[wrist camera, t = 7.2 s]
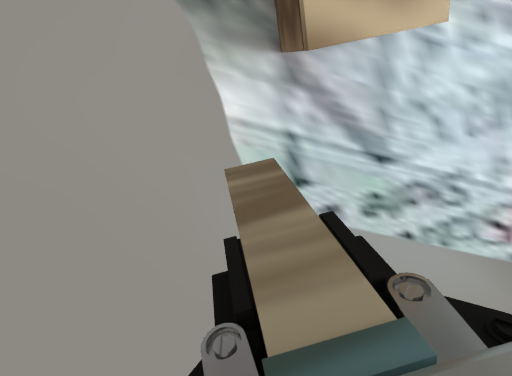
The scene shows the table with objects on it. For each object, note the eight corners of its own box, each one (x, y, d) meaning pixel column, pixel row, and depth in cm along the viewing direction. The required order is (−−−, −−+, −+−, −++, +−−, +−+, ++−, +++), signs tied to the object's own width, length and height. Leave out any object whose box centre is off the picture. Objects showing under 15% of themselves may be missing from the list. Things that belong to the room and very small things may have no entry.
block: (221, 167, 19) (271, 406, 6) (275, 155, 19) (437, 355, 6) (233, 215, 20) (294, 490, 7) (283, 203, 20) (427, 445, 8)
